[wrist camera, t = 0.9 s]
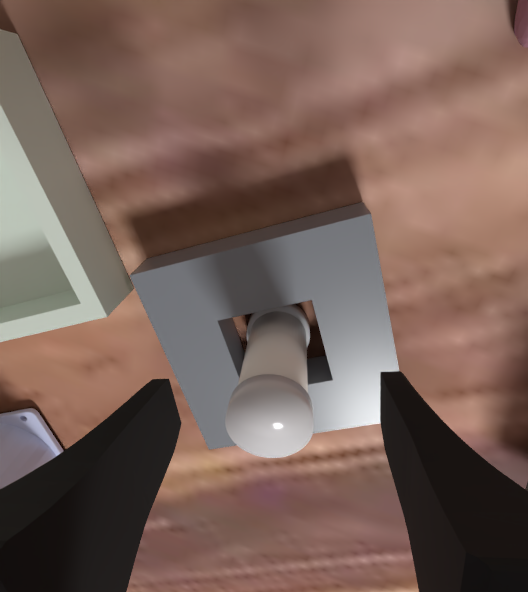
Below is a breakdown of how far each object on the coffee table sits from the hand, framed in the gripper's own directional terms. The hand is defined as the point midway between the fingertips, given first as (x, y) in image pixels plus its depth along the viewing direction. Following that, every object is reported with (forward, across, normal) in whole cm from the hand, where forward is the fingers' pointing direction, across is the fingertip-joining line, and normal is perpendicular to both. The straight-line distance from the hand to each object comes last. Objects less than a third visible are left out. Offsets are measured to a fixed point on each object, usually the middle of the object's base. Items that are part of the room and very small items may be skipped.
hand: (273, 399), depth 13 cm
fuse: (+10, +1, +3) cm, 10 cm away
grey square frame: (+10, +1, +3) cm, 10 cm away
